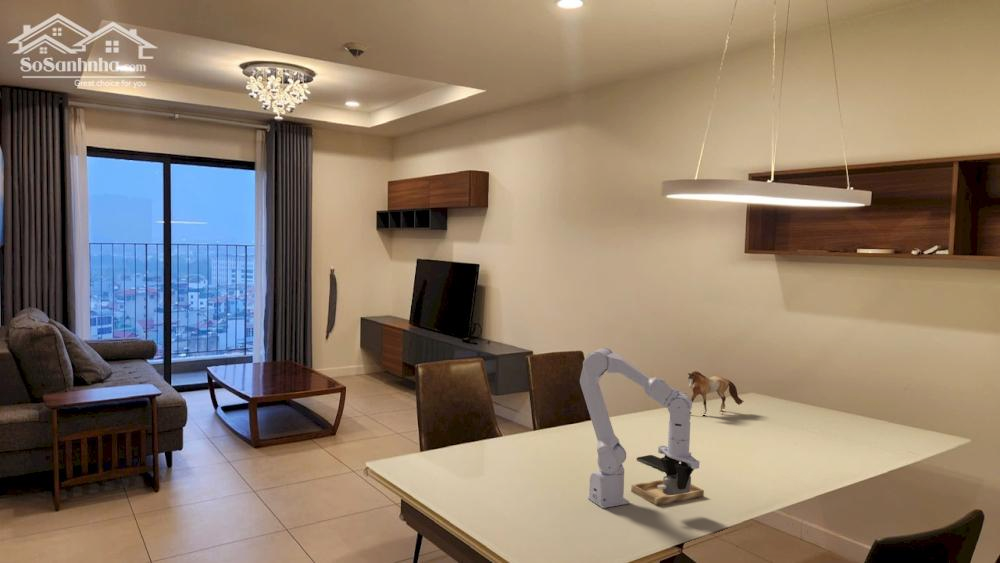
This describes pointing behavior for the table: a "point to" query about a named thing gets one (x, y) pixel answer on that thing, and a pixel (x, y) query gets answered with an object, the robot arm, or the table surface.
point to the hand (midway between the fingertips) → (676, 486)
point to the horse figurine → (712, 388)
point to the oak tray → (657, 495)
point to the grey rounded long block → (673, 485)
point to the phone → (652, 462)
